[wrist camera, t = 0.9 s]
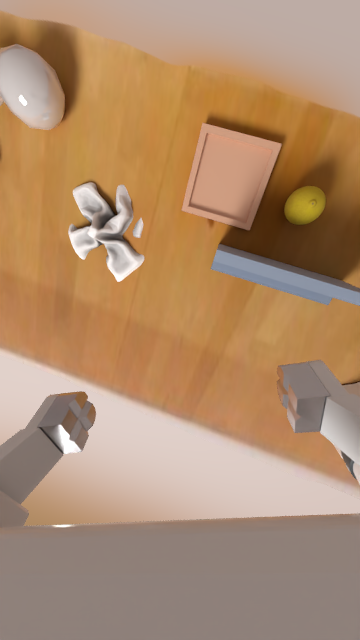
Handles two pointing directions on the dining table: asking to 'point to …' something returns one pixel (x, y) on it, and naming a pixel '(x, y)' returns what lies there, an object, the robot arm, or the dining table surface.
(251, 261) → the screen
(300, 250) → the dining table surface
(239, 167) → the dish
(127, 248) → the cloth
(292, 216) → the lemon
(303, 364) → the robot arm
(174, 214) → the dining table surface
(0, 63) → the potion bottle
